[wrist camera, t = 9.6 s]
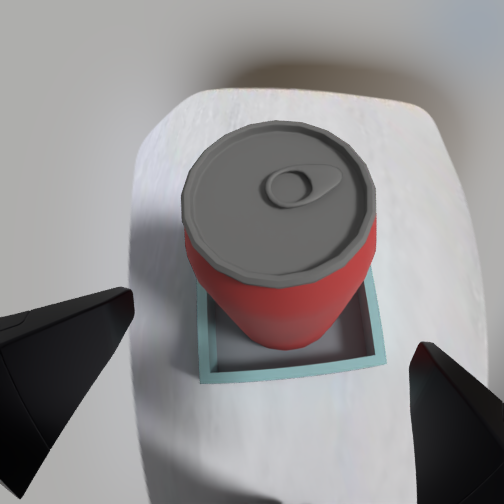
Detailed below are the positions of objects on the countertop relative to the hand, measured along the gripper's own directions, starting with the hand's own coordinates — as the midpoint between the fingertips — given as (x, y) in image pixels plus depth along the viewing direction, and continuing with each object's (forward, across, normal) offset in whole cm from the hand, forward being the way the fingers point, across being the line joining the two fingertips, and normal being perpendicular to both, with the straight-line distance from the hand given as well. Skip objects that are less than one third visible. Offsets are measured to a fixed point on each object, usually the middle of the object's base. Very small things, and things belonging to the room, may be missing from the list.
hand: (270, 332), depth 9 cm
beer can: (+10, 0, +4) cm, 11 cm away
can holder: (+10, 0, +5) cm, 11 cm away
